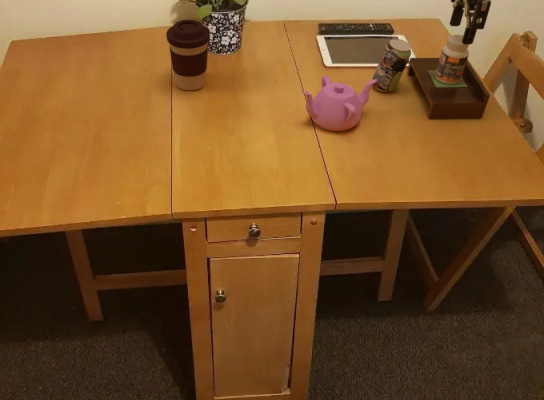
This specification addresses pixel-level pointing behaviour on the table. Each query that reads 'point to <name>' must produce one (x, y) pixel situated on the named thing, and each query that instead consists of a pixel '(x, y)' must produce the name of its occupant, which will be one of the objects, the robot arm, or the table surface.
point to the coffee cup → (189, 53)
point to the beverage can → (392, 65)
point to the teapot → (337, 105)
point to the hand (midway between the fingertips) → (460, 34)
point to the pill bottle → (452, 60)
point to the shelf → (450, 91)
